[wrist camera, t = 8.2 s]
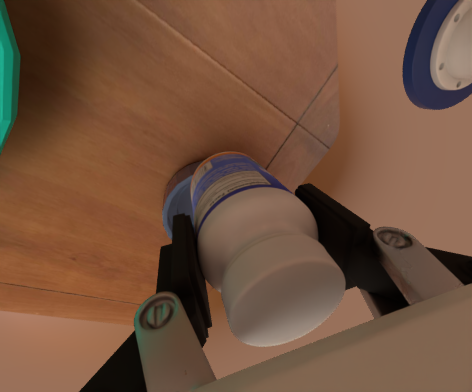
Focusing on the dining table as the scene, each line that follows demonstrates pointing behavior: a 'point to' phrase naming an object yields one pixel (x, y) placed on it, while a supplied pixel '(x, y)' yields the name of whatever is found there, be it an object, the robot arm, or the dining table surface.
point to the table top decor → (8, 75)
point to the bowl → (178, 197)
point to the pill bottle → (261, 252)
